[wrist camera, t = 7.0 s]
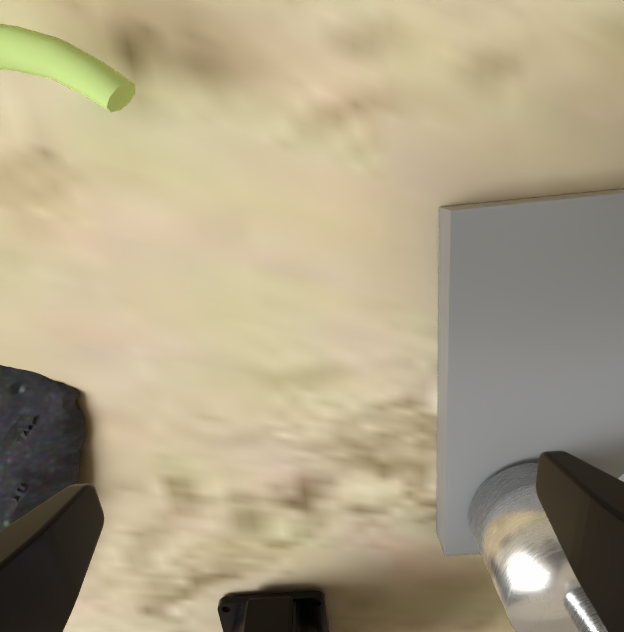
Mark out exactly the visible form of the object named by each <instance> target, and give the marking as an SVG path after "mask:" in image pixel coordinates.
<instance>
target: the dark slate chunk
mask: <svg viewBox="0 0 624 632" xmlns="http://www.w3.org/2000/svg"><path fill="white" fill-rule="evenodd" d="M78 395H79V392H78V391H76V390H75V389H73V388H71V387H69V386H68V385H66V384H64V383H57V382H54V381H52V380H51V379H49V378H47V377H45V376H43V375H41V374H38V373H35V372H31V371H27V370H21V369H16V368H12V367H5V366H2V365H0V531H1V530H3V529H4V528H6V527H7V526H9V525H10V524H12V523H13V522H15V521H16V520H18V519H19V518H21V517H22V516H24V515H25V514H27V513H28V512H30V511H32V510H33V509H35V508H36V507H38V506H39V505H41V504H42V503H44V502H45V501H47V500H48V499H50V498H51V497H53V496H54V495H56V494H57V493H59V492H60V491H62V490H63V489H65V488H66V487H68V486H70V485H74V484H77V482H78V478H79V463H80V455H81V452H80V448H81V446H82V444H83V441H84V437H85V430H84V428H83V422H84V421H83V415H82V413H81V411H80V409H79V407H78V406H77V404H76V402H75V400H76V398H77V397H78Z"/></svg>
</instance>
